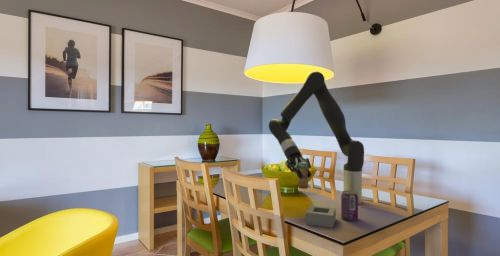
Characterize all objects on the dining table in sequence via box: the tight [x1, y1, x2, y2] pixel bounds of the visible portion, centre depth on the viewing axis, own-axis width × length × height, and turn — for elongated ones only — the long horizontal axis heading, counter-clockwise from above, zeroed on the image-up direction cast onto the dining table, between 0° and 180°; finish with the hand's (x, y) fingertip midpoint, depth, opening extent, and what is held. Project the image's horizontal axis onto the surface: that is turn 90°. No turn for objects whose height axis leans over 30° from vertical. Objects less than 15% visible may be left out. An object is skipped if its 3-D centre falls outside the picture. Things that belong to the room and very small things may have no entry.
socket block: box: [305, 204, 337, 229], centre depth 122 cm, size 11×11×5 cm
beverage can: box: [340, 190, 359, 222], centre depth 125 cm, size 7×7×12 cm
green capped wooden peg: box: [298, 162, 309, 190], centre depth 134 cm, size 4×4×12 cm
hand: (305, 177), depth 133 cm, fingers closed on green capped wooden peg, 4 cm apart
